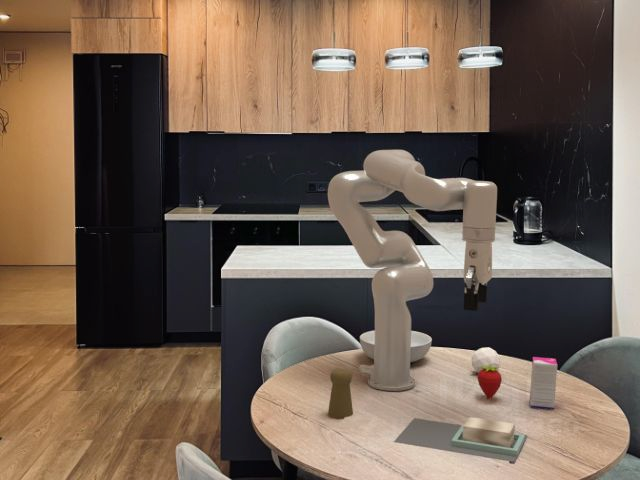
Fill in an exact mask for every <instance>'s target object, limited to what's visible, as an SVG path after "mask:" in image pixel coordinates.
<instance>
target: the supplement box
mask: <svg viewBox="0 0 640 480" xmlns="http://www.w3.org/2000/svg"><path fill="white" fill-rule="evenodd" d="M531 365H532V366H531V380H530V390H529V408H531V409H542V410H555V402H556V401H555V400H556V389H557V376H558V363H557V359H556V358H551V357H541V356H540V357H538V356H533V357H532V364H531Z"/></svg>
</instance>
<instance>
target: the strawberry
mask: <svg viewBox="0 0 640 480" xmlns="http://www.w3.org/2000/svg"><path fill="white" fill-rule="evenodd" d="M489 364H490V363H489ZM490 365H491V364H490ZM490 365H489V366H488V368H487V367H478V368H481V369H482V370H481V371H480V372H479V373H477V374H478V375H477V381H478V386H479V387H480V389H481V391H482V392H483V393H484V396H486V399H488V400H491V399H493V397H494V396H495V395H496V393H497V392H498V390H499V389H500V387H501V384H502V382H503V379H502V374H501V373H500V370H499V369H498V370H497V368H498V367H491V366H490Z"/></svg>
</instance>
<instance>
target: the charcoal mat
mask: <svg viewBox="0 0 640 480" xmlns="http://www.w3.org/2000/svg"><path fill="white" fill-rule="evenodd" d="M462 425H463V424H456V423H448V422H444V421H436V420H429V419H423V418H416V417H414V418H413V419H412V420H411V421H410V423H408V425H406V426H405V428H404V429H403V430H402V431H401V433H399V435H398V436H397V437H396V438H395V439H394V440H393V442H394V443H396V444H397V443H398V444H404V445H408V446H409V445H411V446H415V447H422V448H428V449H435V450H439V451H446V452H453V453H459V454H462V455H463V454H464V455H471V456H477V457H482V458H483V457H484V458H489V459H495V460H501V461H506V462H508V463H509V464H515V463H516V460H517V459H518V458H519V455H520V453H521V451H522V449H523V446H524V444H525V442H526V439H528V435H527V434H524V435H525V441H524V443H523V445H522V447H521V449H520V451H519V453H518V455H517V456H511V455H505V454H499V453H493V452H487V451H481V450H474V449H468V448H462V447H456V446H451V440H452V439H453V437H454V436H455V435H456V433H457V432H458V430H459V429H460V427H461V426H462ZM460 440H463V436H462V438H461V439H460ZM516 442H517V440H514V442H513V444H512V446H511V448H514V446H515V444H516Z"/></svg>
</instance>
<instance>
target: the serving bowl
mask: <svg viewBox="0 0 640 480" xmlns="http://www.w3.org/2000/svg"><path fill="white" fill-rule="evenodd" d="M432 341H433V339H432V337H431V336H429V335H428V334H426V333H423V332H419V331H414V330H411V351H410V363H414V362H416V361H419V360H421V359H423V358H424V357H425V356H426V355H427V354H428V352H429V351H430V349H431V347H432ZM359 342H360V347H361V349H362V350H363V352H364V353H365V355H366V356H367V357H369V358H371V359H372V360H374V345H375V330H370V331H366V332H363V333H362V334H361V335H359Z"/></svg>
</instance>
